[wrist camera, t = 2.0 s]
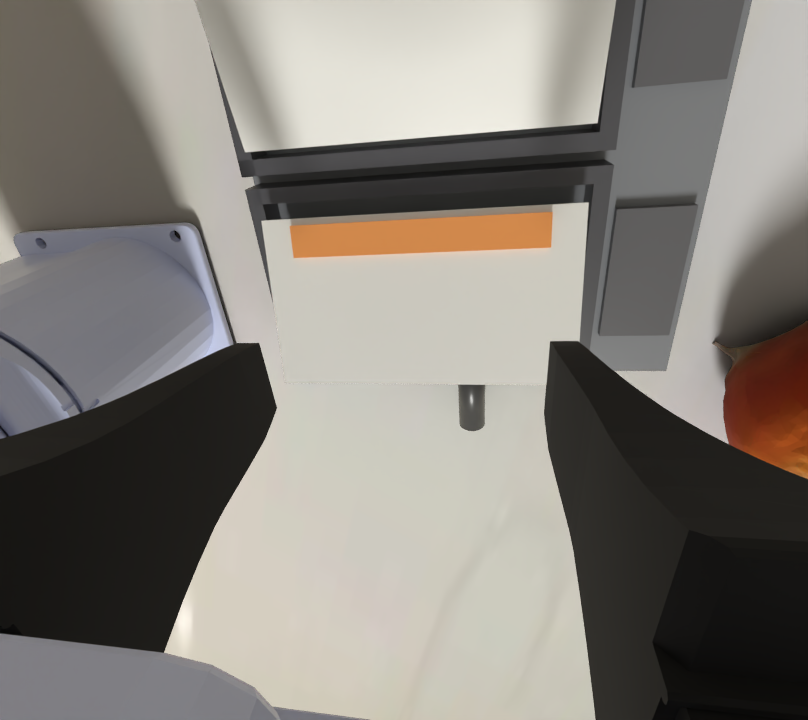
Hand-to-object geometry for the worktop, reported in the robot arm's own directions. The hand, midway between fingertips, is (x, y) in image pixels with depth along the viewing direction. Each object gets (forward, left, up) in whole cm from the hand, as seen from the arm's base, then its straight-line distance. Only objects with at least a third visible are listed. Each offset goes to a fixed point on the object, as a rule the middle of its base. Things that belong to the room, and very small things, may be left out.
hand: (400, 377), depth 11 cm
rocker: (0, 0, -5) cm, 5 cm away
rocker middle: (0, +8, -5) cm, 10 cm away
